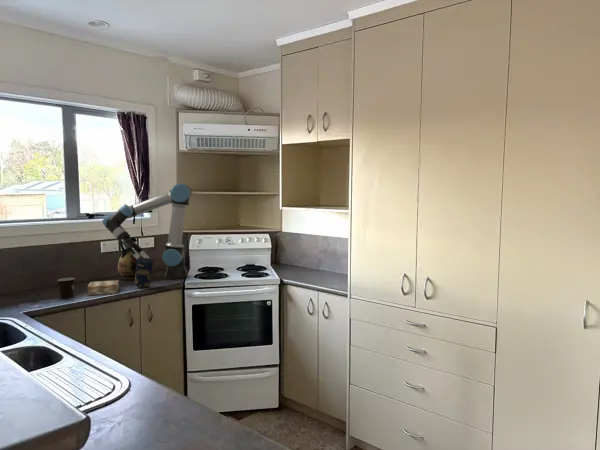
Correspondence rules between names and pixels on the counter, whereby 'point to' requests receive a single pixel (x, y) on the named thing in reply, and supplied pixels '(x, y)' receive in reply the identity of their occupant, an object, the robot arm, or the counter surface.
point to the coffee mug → (66, 287)
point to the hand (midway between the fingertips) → (143, 258)
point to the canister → (143, 272)
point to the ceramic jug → (127, 263)
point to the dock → (103, 287)
